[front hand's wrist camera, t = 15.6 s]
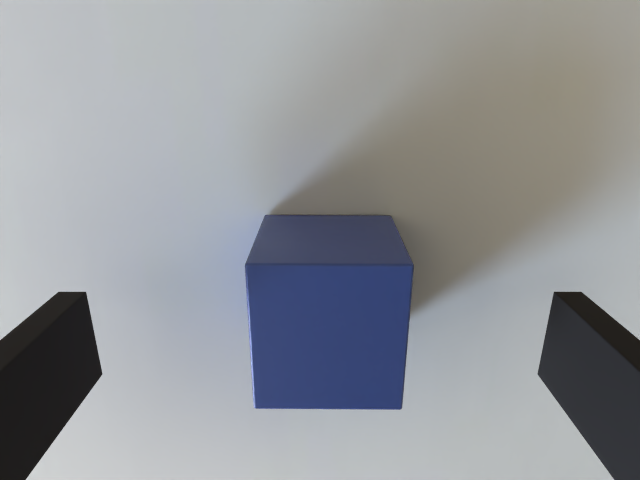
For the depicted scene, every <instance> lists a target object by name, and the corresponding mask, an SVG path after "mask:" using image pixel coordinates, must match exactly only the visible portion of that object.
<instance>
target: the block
mask: <svg viewBox="0 0 640 480" xmlns="http://www.w3.org/2000/svg"><path fill="white" fill-rule="evenodd" d="M413 270H414V265H413V263H412V261H411V258H410V256H409V254H408V252H407V250H406V247H405V245H404V243H403V241H402V239H401V237H400V234H399V232H398V230H397V228H396V226H395V224H394V221H393V219H392V217H391V216H360V215H265V217H264V219H263V222H262V224H261V227H260V229H259V232H258V234H257V237H256V239H255V242H254V244H253V247H252V249H251V252H250V254H249V256H248V259H247V261H246V264H245V273H246V289H247V305H248V321H249V337H250V353H251V369H252V385H253V401H254V408H258V409H398V410H400V409H402V403H403V391H404V379H405V367H406V355H407V343H408V330H409V318H410V306H411V294H412V282H413Z"/></svg>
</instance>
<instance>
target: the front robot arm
mask: <svg viewBox="0 0 640 480" xmlns="http://www.w3.org/2000/svg"><path fill="white" fill-rule="evenodd" d="M101 375H102V370H101V365H100V360H99V355H98V350H97V345H96V340H95V335H94V330H93V325H92V320H91V315H90V310H89V305H88V300H87V295H86V292H58V293H57V294H56V295H54V296H53V297H52V298H51V299H50V300H48V301H47V302H46V303H45V304H44V305H42V306H41V307H40V308H39V309H37V310H36V311H35V312H34V313H33V314H31V315H30V316H29V317H28V318H27V319H25V320H24V321H23V322H22V323H21V324H19V325H18V326H17V327H16V328H15V329H13V330H12V331H11V332H10V333H9V334H7V335H6V336H5V337H4V338H3V339H1V340H0V480H26V478H27V477H28V476H29V474H30V473H31V471H32V470H33V469H34V467H35V466H36V465H37V463H38V462H39V460H40V459H41V458H42V456H43V455H44V454H45V452H46V451H47V449H48V448H49V447H50V445H51V444H52V443H53V441H54V440H55V439H56V437H57V436H58V434H59V433H60V432H61V430H62V429H63V428H64V426H65V425H66V423H67V422H68V421H69V419H70V418H71V417H72V415H73V414H74V412H75V411H76V410H77V408H78V407H79V406H80V404H81V403H82V401H83V400H84V399H85V397H86V396H87V395H88V393H89V392H90V390H91V389H92V388H93V386H94V385H95V384H96V382H97V381H98V379H99V378H100V377H101ZM538 375H539V377H540V378H541V379H542V381H543V382H544V384H545V385H546V386H547V388H548V389H549V390H550V392H551V393H552V395H553V396H554V397H555V399H556V400H557V401H558V403H559V404H560V406H561V407H562V408H563V410H564V411H565V412H566V414H567V415H568V417H569V418H570V419H571V421H572V422H573V423H574V425H575V426H576V428H577V429H578V430H579V432H580V433H581V434H582V436H583V437H584V439H585V440H586V441H587V443H588V444H589V445H590V447H591V448H592V449H593V451H594V452H595V454H596V455H597V456H598V458H599V459H600V460H601V462H602V463H603V465H604V466H605V467H606V469H607V470H608V471H609V473H610V474H611V476H612V477H613V478H614V480H640V340H639V339H637V338H636V337H635V336H634V335H633V334H631V333H630V332H629V331H628V330H627V329H625V328H624V327H623V326H622V325H621V324H619V323H618V322H617V321H616V320H615V319H613V318H612V317H611V316H610V315H609V314H607V313H606V312H605V311H604V310H603V309H601V308H600V307H599V306H598V305H596V304H595V303H594V302H593V301H592V300H590V299H589V298H588V297H587V296H586V295H584V294H583V293H582V292H554V295H553V300H552V305H551V310H550V315H549V320H548V325H547V330H546V335H545V340H544V345H543V350H542V355H541V360H540V365H539V370H538Z"/></svg>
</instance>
